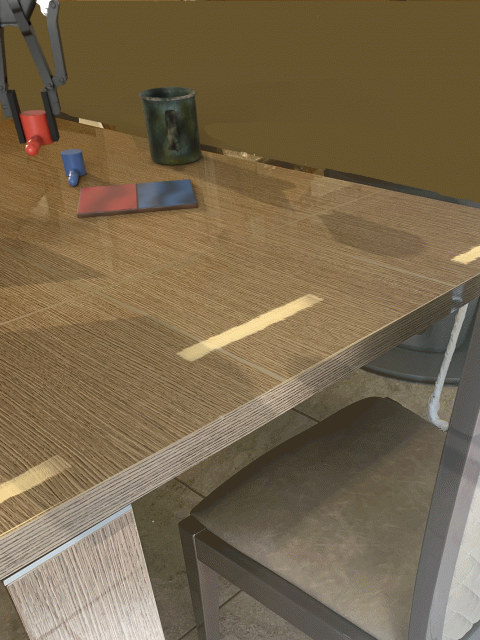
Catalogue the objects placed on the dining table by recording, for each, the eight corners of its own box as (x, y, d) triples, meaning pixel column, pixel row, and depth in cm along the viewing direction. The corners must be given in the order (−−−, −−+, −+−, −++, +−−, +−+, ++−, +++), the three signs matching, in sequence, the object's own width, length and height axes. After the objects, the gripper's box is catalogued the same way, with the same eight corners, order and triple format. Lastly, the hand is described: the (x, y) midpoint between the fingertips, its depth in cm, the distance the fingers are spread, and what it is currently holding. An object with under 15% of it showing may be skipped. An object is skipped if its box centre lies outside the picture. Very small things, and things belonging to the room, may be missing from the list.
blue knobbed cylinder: (84, 186, 115) (79, 163, 112) (62, 188, 114) (56, 164, 111) (87, 170, 122) (82, 148, 120) (66, 172, 122) (61, 149, 119)
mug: (202, 149, 134) (195, 85, 126) (206, 169, 122) (198, 100, 115) (149, 152, 132) (138, 88, 125) (148, 173, 121) (136, 103, 113)
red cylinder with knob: (47, 156, 87) (39, 125, 85) (17, 158, 86) (9, 126, 84) (55, 138, 95) (48, 109, 93) (28, 140, 94) (21, 110, 92)
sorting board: (77, 218, 102) (76, 213, 101) (81, 191, 112) (80, 187, 112) (197, 207, 105) (197, 203, 105) (190, 182, 116) (190, 178, 116)
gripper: (-95, -62, 74) (-27, 150, 89) (57, -63, 77) (98, 143, 92) (-78, -62, 80) (-17, 137, 95) (62, -63, 83) (101, 130, 97)
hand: (40, 139), depth 93 cm, fingers closed on red cylinder with knob, 4 cm apart
